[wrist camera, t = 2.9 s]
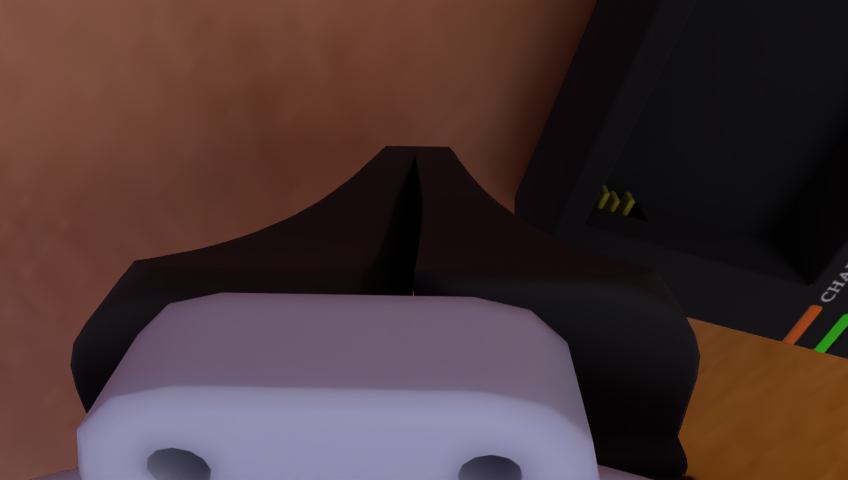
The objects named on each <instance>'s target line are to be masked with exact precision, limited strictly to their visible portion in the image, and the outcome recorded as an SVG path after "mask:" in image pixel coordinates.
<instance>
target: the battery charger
mask: <svg viewBox="0 0 848 480" xmlns="http://www.w3.org/2000/svg"><path fill="white" fill-rule="evenodd" d="M515 215H516V216H517V217H519V218H520V219H522V220H523V221H525V222H526V223H528V224H530V225H531V226H533V227H535V228H537V229H539V230H541V231H543V232H545V233H547V234H549V235H551V236H553V237H555V238H557V239H559V240H561V241H564V242H566V243H568V244H571V245H573V246H576V247H579V248H581V249H584V250H587V251H590V252H593V253H596V254H599V255H602V256H605V257H608V258H613V259H617V260H621V261H625V262H629V263H633V264H637V265H641V266H645V267H649V268H654V269H656V270H657V272H658V273H659V275H660V276H661V278H662V279H663V281H664V282H665V283H666V285H667V286H668V288H669V289H670V291H671V292H672V294H673V295H674V297H675V299H676V300H677V302H678V304H679V305H680V307H681V309H682V311H683V312H684V314H685V316H686V317H689V318H693V319H697V320H701V321H705V322H708V323H712V324H716V325H720V326H724V327H728V328H731V329H735V330H739V331H743V332H747V333H751V334H755V335H758V336H762V337H766V338H770V339H774V340H778V341H782V342H784V343H786V344H791V345H792V344H794V345H797V346H801V347H805V348H808V349H813V350H815V351H817V352H821V353H823V352H825V353H828V354H831V355H835V356H839V357H843V358H847V359H848V0H598V1H597V4H596V6H595V8H594V11H593V13H592V15H591V18H590V20H589V23H588V25H587V27H586V30H585V32H584V34H583V37H582V39H581V42H580V44H579V46H578V49H577V51H576V53H575V56H574V58H573V61H572V63H571V65H570V68H569V70H568V73H567V75H566V77H565V80H564V82H563V84H562V87H561V89H560V92H559V94H558V96H557V99H556V101H555V103H554V106H553V108H552V111H551V113H550V115H549V118H548V120H547V123H546V125H545V127H544V130H543V132H542V134H541V137H540V139H539V142H538V144H537V146H536V149H535V151H534V153H533V156H532V158H531V161H530V163H529V165H528V168H527V170H526V172H525V175H524V177H523V180H522V182H521V184H520V187H519V189H518V192H517V194H516V196H515Z"/></svg>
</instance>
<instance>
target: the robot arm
mask: <svg viewBox="0 0 848 480" xmlns="http://www.w3.org/2000/svg"><path fill="white" fill-rule="evenodd" d="M413 290H414V296H413ZM699 360H700V354H699V350H698V345H697V341H696V337H695V333H694V332H693V330H692V328H691V326H690V324H689V322H688V320H687V318H686V316H685V314H684V312H683V311H682V309H681V307H680V305H679V304H678V302H677V300H676V299H675V297H674V295H673V294H672V292H671V291H670V289H669V288H668V286H667V285H666V283H665V282H664V281H663V279H662V278H661V276H660V275H659V273H658V272H657V270H656V269H654V268H649V267H645V266H641V265H637V264H633V263H629V262H625V261H621V260H617V259H613V258H608V257H605V256H602V255H599V254H596V253H593V252H590V251H587V250H584V249H581V248H579V247H576V246H573V245H571V244H568V243H566V242H564V241H561V240H559V239H557V238H555V237H553V236H551V235H549V234H547V233H545V232H543V231H541V230H539V229H537V228H535V227H533V226H531V225H530V224H528V223H526V222H525V221H523V220H522V219H520V218H519V217H517V216H516V215H514V214H513V213H511V212H510V211H508V210H507V209H506V208H504V207H503V206H502V205H500V204H499V203H498V202H497V201H496V200H495V199H493V198H492V197H491V196H490V195H489V194H488V193H487V192H486V191H484V190H483V188H482V187H481V186H480V185H479V184H478V183H477V182H476V181H475V180H474V178H473V177H472V176H471V175H470V174H469V173H468V171H467V170H466V169H465V167H464V166H463V165H462V164H461V162H460V161H459V159H458V158H457V156H456V155H455V153H454V152H453V151H452V150H451V149H450V148H449V147H421V146H386V147H385V148H383V149H382V150H381V151H380V152H379V153H378V154H377V155H376V156H375V157H374V158H373V159H372V160H370V161H369V162H368V163H367V164H366V165H365V166H364V167H363V168H362V169H361V170H360V171H358V172H357V173H356V174H355V175H354V176H353V177H352V178H350V179H349V180H348V181H346V182H345V183H344V184H342V185H341V186H340V187H338V188H337V189H336V190H334V191H333V192H332V193H330V194H329V195H328V196H326V197H325V198H323V199H322V200H320V201H319V202H317V203H315V204H314V205H312V206H310V207H308V208H307V209H305V210H303V211H301V212H299V213H297V214H296V215H294V216H292V217H290V218H288V219H285V220H283V221H281V222H278V223H276V224H273V225H271V226H269V227H266V228H264V229H261V230H259V231H257V232H254V233H252V234H249V235H246V236H243V237H240V238H237V239H233V240H230V241H227V242H223V243H220V244H216V245H213V246H209V247H205V248H201V249H197V250H192V251H187V252H182V253H177V254H171V255H166V256H161V257H155V258H150V259H144V260H137V261H134V262H133V263H132V265H131V266H130V267H129V268H128V269H127V271H126V272H125V273H124V274H123V276H122V277H121V278H120V279H119V281H118V282H117V283H116V285H115V286H114V287H113V288H112V290H111V291H110V292H109V294H108V295H107V296H106V298H105V299H104V300H103V302H102V303H101V304H100V305H99V307H98V308H97V309H96V311H95V312H94V313H93V315H92V316H91V317H90V319H89V320H88V321H87V323H86V324H85V325H84V327H83V329H82V330H81V332H80V334H79V335H78V337H77V339H76V340H75V342H74V344H73V351H72V358H71V370H72V374H73V378H74V382H75V386H76V389H77V392H78V394H79V397H80V399H81V401H82V404H83V406H84V409H85V411H86V413H87V415H86V417H85V418H84V420H83V421H82V423H81V424H80V426H79V427H78V429H77V446H78V465H79V468H75V469H71V470H67V471H63V472H59V473H55V474H51V475H47V476H43V477H38V478H34V479H30V480H684V479H683V477H682V474H685V473H686V470H687V467H688V466H687V458H686V455H685V453H684V450H683V448H682V445H681V443H680V441H679V438H678V434H679V431H680V428H681V425H682V422H683V419H684V416H685V413H686V410H687V407H688V404H689V401H690V398H691V395H692V392H693V389H694V386H695V383H696V380H697V374H698V367H699Z"/></svg>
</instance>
